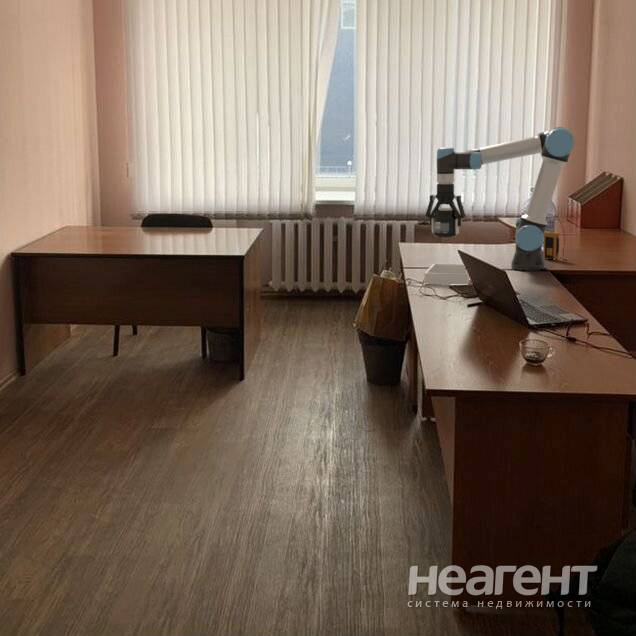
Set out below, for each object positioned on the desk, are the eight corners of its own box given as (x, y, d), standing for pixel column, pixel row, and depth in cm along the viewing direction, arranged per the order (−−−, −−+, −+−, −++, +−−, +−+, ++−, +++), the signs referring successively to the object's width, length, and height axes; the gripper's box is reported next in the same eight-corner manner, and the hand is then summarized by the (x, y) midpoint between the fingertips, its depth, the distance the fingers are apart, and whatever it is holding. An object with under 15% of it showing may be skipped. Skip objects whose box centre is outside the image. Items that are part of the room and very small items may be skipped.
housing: (433, 274, 449) (433, 263, 448) (473, 275, 444) (474, 264, 443) (424, 284, 426) (424, 273, 425) (467, 285, 421) (467, 274, 420)
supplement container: (458, 234, 454) (458, 208, 451) (456, 238, 443) (456, 210, 441) (434, 234, 456) (434, 208, 453) (432, 237, 446) (432, 210, 443)
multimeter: (574, 259, 480) (575, 217, 476) (561, 261, 474) (562, 219, 469) (549, 256, 491) (550, 215, 487) (536, 258, 485) (537, 217, 481)
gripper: (417, 183, 446) (418, 233, 451) (467, 184, 436) (467, 235, 441) (423, 182, 453) (423, 231, 457) (473, 182, 443) (472, 233, 448)
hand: (445, 233), depth 449 cm, fingers closed on supplement container, 10 cm apart
